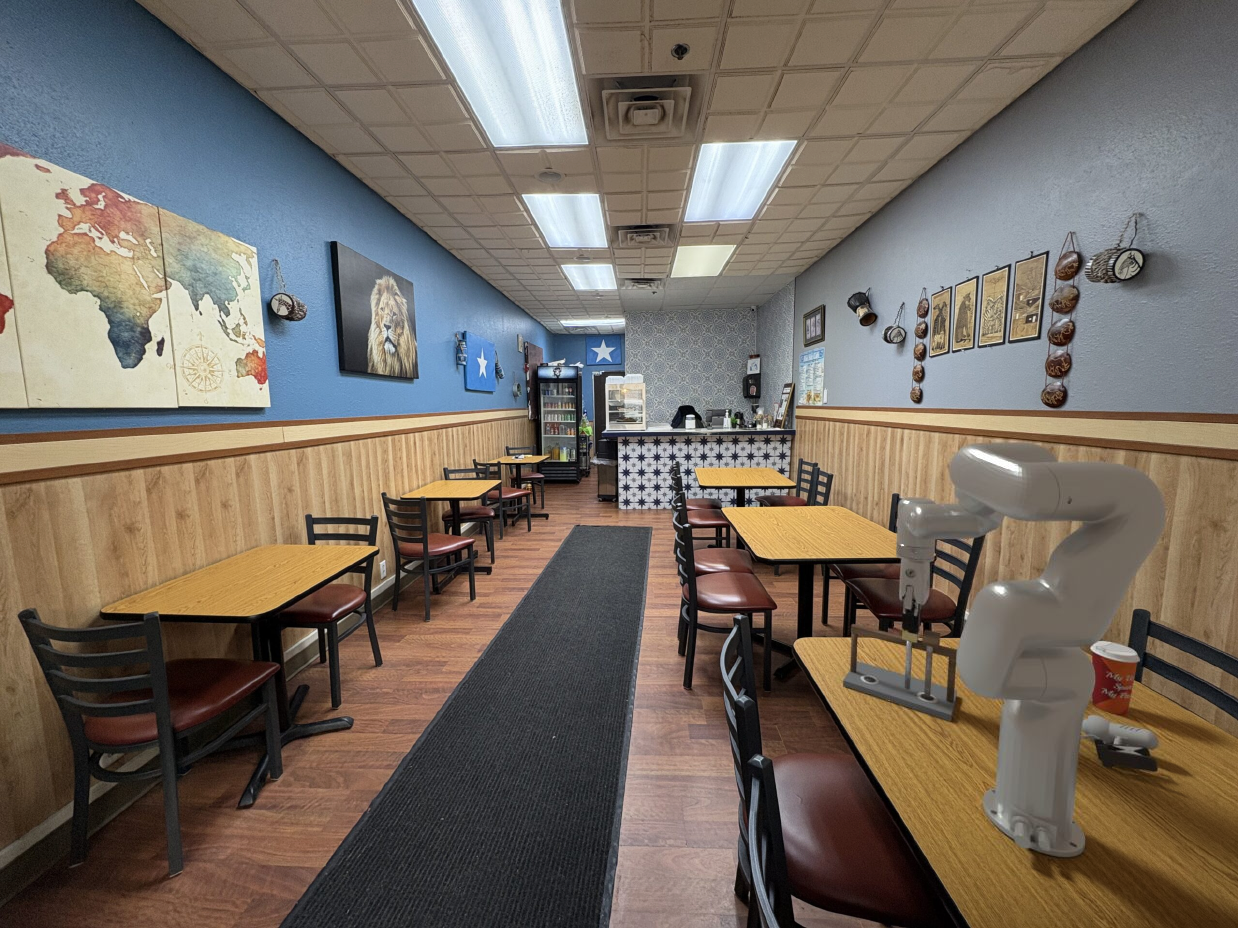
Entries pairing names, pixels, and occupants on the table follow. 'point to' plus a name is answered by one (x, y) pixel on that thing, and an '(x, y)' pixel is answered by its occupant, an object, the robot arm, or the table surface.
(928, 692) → the divider frame
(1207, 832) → the table surface
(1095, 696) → the paper cup
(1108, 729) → the clip-on lamp
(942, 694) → the hole plate
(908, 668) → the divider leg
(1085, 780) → the table surface
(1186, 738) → the table surface
